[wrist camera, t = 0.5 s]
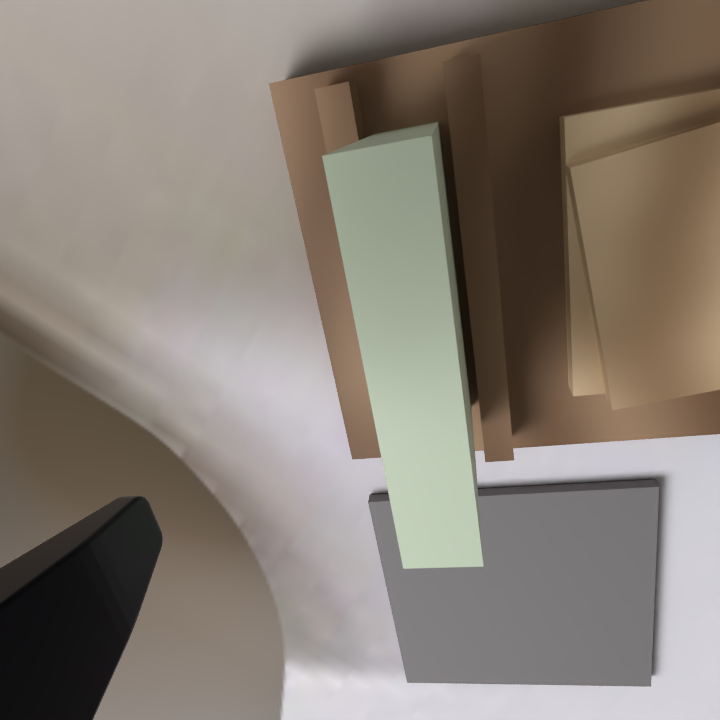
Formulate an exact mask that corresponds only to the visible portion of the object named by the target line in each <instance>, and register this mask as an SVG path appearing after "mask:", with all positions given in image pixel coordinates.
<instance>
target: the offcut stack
mask: <svg viewBox="0 0 720 720" xmlns="http://www.w3.org/2000/svg"><path fill="white" fill-rule="evenodd" d="M559 121H560V150H561V179H562V208H563V237H564V266H565V295H566V324H567V353H568V382H569V388H570V390H571V392H572V395H573V396H583V395H595V394H606V399H607V401H608V403H609V405H610V407H611V408H612V410H617V409H623V408H628V407H633V406H638V405H643V404H648V403H653V402H659V401H664V400H669V399H674V398H679V397H684V396H689V395H695V394H700V393H705V392H710V391H715V390H720V87H718V88H713V89H707V90H702V91H696V92H691V93H686V94H680V95H675V96H670V97H664V98H659V99H653V100H648V101H643V102H637V103H632V104H627V105H621V106H616V107H610V108H605V109H600V110H594V111H589V112H583V113H578V114H573V115H567V116H562V117H559Z"/></svg>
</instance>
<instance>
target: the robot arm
mask: <svg viewBox="0 0 720 720" xmlns="http://www.w3.org/2000/svg"><path fill="white" fill-rule="evenodd" d="M161 547H162V532H161V530H160V527H159V525H158V522H157V520H156V518H155V515H154V513H153V511H152V508H151V506H150V503H149V502H148V500H147V499H146V498H145V497H143V496H139V495H138V496H125V497H120V498H118V499H116V500H114V501H112V502H111V503H109V504H107V505H106V506H104V507H102V508H101V509H99V510H97V511H96V512H94V513H92V514H91V515H89V516H87V517H85V518H84V519H82V520H81V521H79V522H77V523H76V524H74V525H72V526H70V527H69V528H67V529H65V530H64V531H62V532H60V533H59V534H57V535H55V536H54V537H52V538H50V539H49V540H47V541H45V542H44V543H42V544H40V545H39V546H37V547H35V548H33V549H32V550H30V551H29V552H27V553H25V554H23V555H22V556H20V557H18V558H17V559H15V560H13V561H12V562H10V563H8V564H7V565H5V566H3V567H1V568H0V720H93V718H94V716H95V714H96V712H97V710H98V707H99V705H100V703H101V701H102V698H103V696H104V694H105V692H106V690H107V687H108V685H109V683H110V680H111V678H112V676H113V674H114V672H115V670H116V667H117V665H118V663H119V661H120V658H121V656H122V654H123V651H124V650H125V647H126V645H127V643H128V640H129V638H130V636H131V633H132V631H133V628H134V625H135V623H136V620H137V617H138V614H139V611H140V609H141V606H142V603H143V600H144V597H145V594H146V591H147V588H148V585H149V582H150V579H151V577H152V573H153V571H154V568H155V565H156V562H157V559H158V556H159V553H160V550H161Z"/></svg>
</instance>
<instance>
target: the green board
mask: <svg viewBox="0 0 720 720" xmlns="http://www.w3.org/2000/svg"><path fill="white" fill-rule="evenodd" d="M322 158H323V163H324V169H325V174H326V179H327V184H328V189H329V194H330V199H331V204H332V209H333V214H334V219H335V224H336V230H337V235H338V240H339V245H340V250H341V255H342V260H343V265H344V270H345V275H346V280H347V285H348V290H349V296H350V301H351V306H352V311H353V316H354V321H355V326H356V331H357V336H358V341H359V346H360V351H361V357H362V362H363V367H364V372H365V377H366V382H367V387H368V392H369V397H370V402H371V407H372V412H373V417H374V423H375V428H376V433H377V438H378V443H379V448H380V453H381V458H382V463H383V468H384V473H385V478H386V483H387V489H388V494H389V499H390V504H391V509H392V514H393V519H394V524H395V529H396V534H397V539H398V544H399V550H400V555H401V560H402V565H403V569H412V568H449V567H484V565H483V552H482V539H481V526H480V513H479V500H478V486H477V473H476V460H475V447H474V434H473V421H472V407H471V398H470V390H469V381H468V372H467V364H466V355H465V346H464V337H463V329H462V320H461V311H460V303H459V294H458V285H457V276H456V268H455V259H454V250H453V242H452V233H451V224H450V215H449V207H448V198H447V189H446V181H445V172H444V163H443V154H442V146H441V137H440V128H439V122H435V123H429V124H424V125H419V126H414V127H409V128H403V129H398V130H393V131H388V132H383V133H377V134H374V135H371V136H369V137H366V138H364V139H362V140H359V141H357V142H354V143H352V144H350V145H347V146H345V147H342V148H340V149H338V150H335V151H333V152H330V153H328V154H326V155H323V156H322Z"/></svg>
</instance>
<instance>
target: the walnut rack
mask: <svg viewBox="0 0 720 720" xmlns="http://www.w3.org/2000/svg"><path fill="white" fill-rule="evenodd" d="M269 86H270V90H271V95H272V99H273V104H274V108H275V113H276V117H277V122H278V126H279V131H280V135H281V140H282V144H283V149H284V153H285V158H286V162H287V167H288V171H289V176H290V180H291V185H292V189H293V194H294V198H295V203H296V207H297V212H298V216H299V221H300V225H301V230H302V234H303V239H304V243H305V248H306V252H307V257H308V261H309V266H310V271H311V275H312V280H313V284H314V289H315V293H316V298H317V302H318V307H319V311H320V316H321V320H322V325H323V329H324V334H325V338H326V343H327V347H328V352H329V356H330V361H331V365H332V370H333V374H334V379H335V383H336V388H337V392H338V397H339V401H340V406H341V410H342V415H343V419H344V424H345V428H346V433H347V437H348V442H349V446H350V451H351V455H352V459H364V458H379V457H381V453H380V448H379V443H378V438H377V433H376V428H375V423H374V417H373V412H372V407H371V402H370V397H369V392H368V387H367V382H366V377H365V372H364V367H363V362H362V357H361V351H360V346H359V341H358V336H357V331H356V326H355V321H354V316H353V311H352V306H351V301H350V296H349V290H348V285H347V280H346V275H345V270H344V265H343V260H342V255H341V250H340V245H339V240H338V235H337V230H336V224H335V219H334V214H333V209H332V204H331V199H330V194H329V189H328V184H327V179H326V174H325V169H324V163H323V158H322V156H323V155H326V154H328V153H330V152H333V151H335V150H338V149H340V148H342V147H345V146H347V145H350V144H352V143H354V142H357V141H359V140H362V139H364V138H366V137H369V136H371V135H374V134H377V133H383V132H388V131H393V130H398V129H403V128H409V127H414V126H419V125H424V124H429V123H435V122H439V128H440V137H441V146H442V154H443V163H444V172H445V181H446V189H447V198H448V207H449V215H450V224H451V233H452V242H453V250H454V259H455V268H456V276H457V285H458V294H459V303H460V311H461V320H462V329H463V337H464V346H465V355H466V364H467V372H468V381H469V390H470V398H471V407H472V421H473V434H474V447H475V451H480V450H484V453H485V462H494V461H509V460H514V454H513V448H523V447H538V446H552V445H566V444H581V443H595V442H610V441H624V440H639V439H653V438H667V437H682V436H696V435H711V434H720V390H715V391H710V392H705V393H700V394H695V395H689V396H684V397H679V398H674V399H669V400H664V401H659V402H653V403H648V404H643V405H638V406H633V407H628V408H623V409H617V410H612V408H611V407H610V405H609V403H608V401H607V399H606V394H595V395H583V396H573V395H572V392H571V390H570V388H569V382H568V353H567V324H566V295H565V266H564V237H563V208H562V179H561V150H560V121H559V117H562V116H567V115H573V114H578V113H583V112H589V111H594V110H600V109H605V108H610V107H616V106H621V105H627V104H632V103H637V102H643V101H648V100H653V99H659V98H664V97H670V96H675V95H680V94H686V93H691V92H696V91H702V90H707V89H713V88H718V87H720V0H646V1H641V2H637V3H632V4H628V5H623V6H619V7H614V8H610V9H605V10H601V11H596V12H592V13H587V14H583V15H578V16H573V17H569V18H564V19H560V20H555V21H551V22H546V23H542V24H537V25H533V26H528V27H524V28H519V29H514V30H510V31H505V32H501V33H496V34H492V35H487V36H483V37H478V38H474V39H469V40H465V41H460V42H456V43H451V44H446V45H442V46H437V47H433V48H428V49H424V50H419V51H415V52H410V53H406V54H401V55H397V56H392V57H388V58H383V59H378V60H374V61H369V62H365V63H360V64H356V65H351V66H347V67H342V68H338V69H333V70H329V71H324V72H319V73H315V74H310V75H306V76H301V77H297V78H292V79H288V80H283V81H279V82H274V83H270V84H269Z"/></svg>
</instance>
